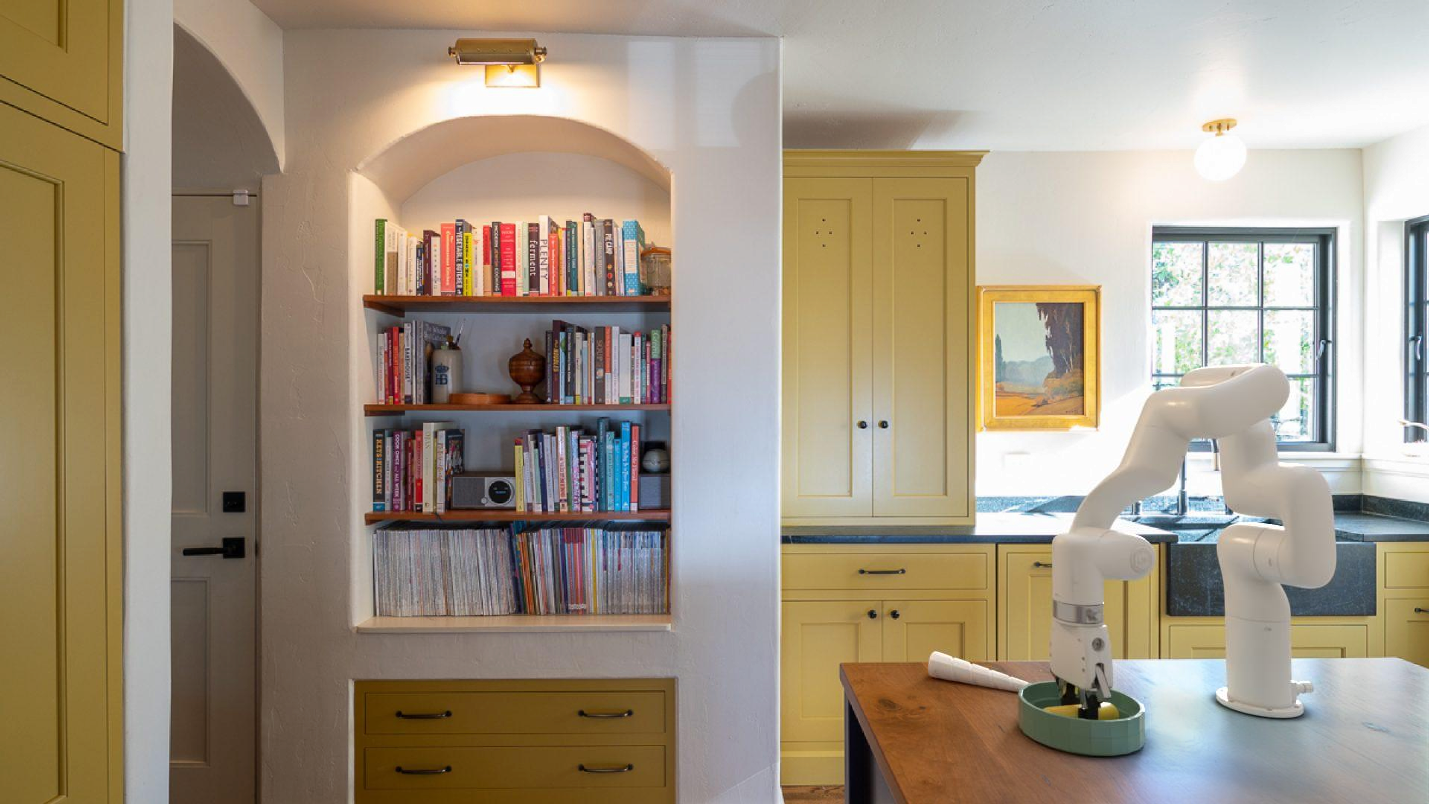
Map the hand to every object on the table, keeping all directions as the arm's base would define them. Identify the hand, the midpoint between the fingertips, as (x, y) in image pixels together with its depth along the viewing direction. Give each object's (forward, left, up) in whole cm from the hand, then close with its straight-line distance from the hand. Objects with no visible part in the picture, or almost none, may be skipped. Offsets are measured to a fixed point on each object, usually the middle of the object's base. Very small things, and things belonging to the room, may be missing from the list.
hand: (1079, 726), depth 129 cm
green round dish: (0, 0, -1) cm, 1 cm away
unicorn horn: (+2, -24, -1) cm, 24 cm away
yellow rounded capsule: (0, 0, 0) cm, 0 cm away
